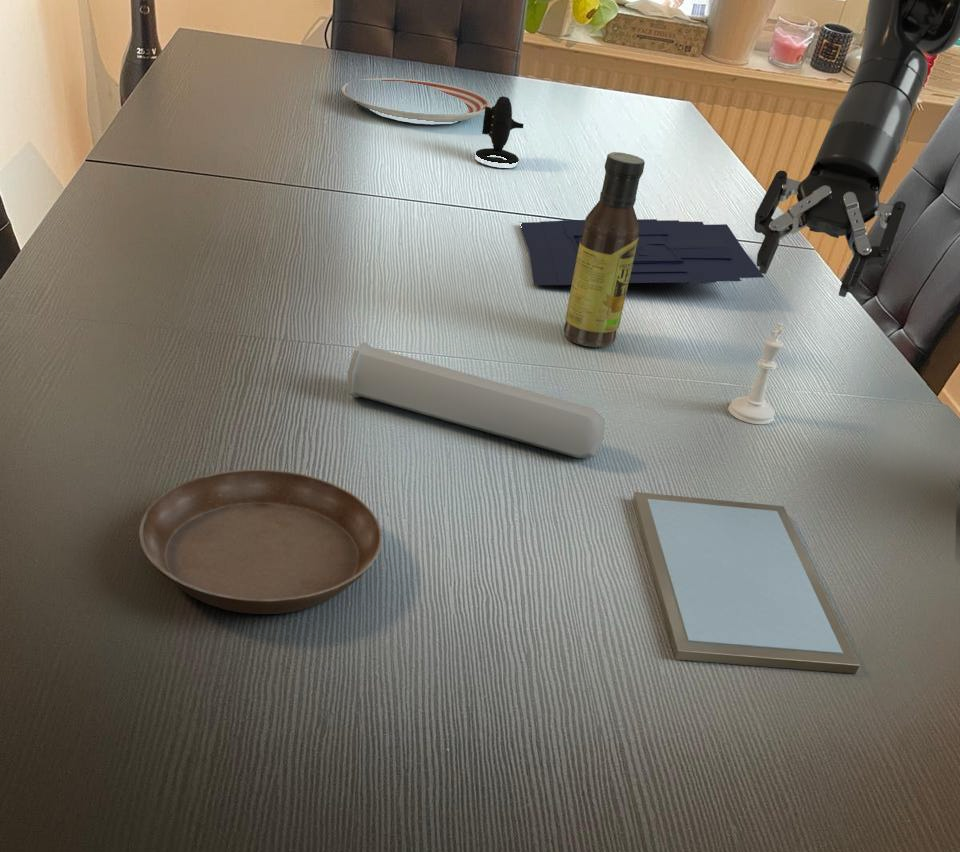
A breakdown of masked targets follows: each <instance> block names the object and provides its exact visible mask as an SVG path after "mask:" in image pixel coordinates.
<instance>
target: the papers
mask: <svg viewBox="0 0 960 852" xmlns="http://www.w3.org/2000/svg"><path fill="white" fill-rule="evenodd" d="M637 221H638V223H639V234H638V235H639V238H638V243H637V248H636V252H635V256H634V261H633V265H632V271H631V275H630V279H629V283H628V284H653V283H654V284H655V283H657V284H658V283H659V284H660V283H661V284H662V283H663V284H664V283H666V284H667V283H685V284H715V283H716V284H717V282H742V280H741V279H754V278H756V279H758V278H759V279H760V278H761V279H762V278H765V276H764V274H763V273H759V269H760V268H759V267H758V266H757V264H755V263H754V260H752V258H751V257H750V255H748V253H747V252H746V250H745V249H744V247H743V246H742V244H741V243H740V241H739V240H738V238H737V237H736V236H735V234H734V233H733V231H732V230H731V228H730V226H729V225H728V224H726V223H725V224H724V223H723V224H722V223H721V224H720V223H719V224H717V223H716V224H705V223H704V222H703V221H680V220H678V219H677V220H675V219H674V220H666V219H665V220H661V219H659V220H658V219H657V218H652V219H651V218H650V219H647V218H645V219H644V218H643V219H642V218H641V219H640V218H639V219H638V218H637ZM521 223H522V224H521V226H522V228H520V227H521V226H520V225H519V228H520V231H521V234H522V236H523V239H524V241H525V245H526V247H527V250H528V252H529V259H530V261H529V262H530V268H531V276H532V282H533V286H572V281H573V275H574V270H575V265H576V260H577V255H578V249H579V244H580V240H581V239H582V234H583V228H584V223H585V219H562V220H547V221H546V220H545V221H542V220H541V221H530V222H529V221H528V222H527V221H526V222H521Z"/></svg>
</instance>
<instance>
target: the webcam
mask: <svg viewBox="0 0 960 852" xmlns="http://www.w3.org/2000/svg"><path fill="white" fill-rule="evenodd" d="M514 129H524V123H521V122H517V121H515V120H514V119H513V107H512V103H511V100H510V98H509V97H508V96H499V97H498V99H496V103H495V104H494V105H493V106H490V107H485V112H484V113H483V123H482V129H481V130H482V131H481V133H482V134H481V135H487V136H489V137H490V140H491V144H492V147H490V148H489V147H488V148H481V149H477V150H476V151H475V152H476V155H477V156H478V157H480V158H481V159H484V160H487V161H491V162H498V163H509V164H512V163H516V162H518V161H519V162H520V160H519V157H518V156H517V155H516V154H515V153H513V152H511V151H508V150H505V149H504V147H505V146H506V144H507V143H508V140H509V137H510V133H511V131H512V130H514ZM490 155H496V156H501V157H504V158H506V159H507V160H503V159H498V158H491V157H487V156H490Z"/></svg>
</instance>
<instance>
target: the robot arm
mask: <svg viewBox="0 0 960 852" xmlns="http://www.w3.org/2000/svg"><path fill="white" fill-rule="evenodd" d="M866 9H867V10H866V16H865V22H864V23H865V24H864V26H865V27H864V35H863V43H862V49H861V54H860V59H859V63H858V66H857V68H856V71H855V73H854V75H853V77H852V80H851V82H850V85H849V86H848V89H847V92H846V94H845V96H844V97H843V100H842V101H841V102H840V104H839V106H838V107H837V109H836V111H835V113H834V116H833V117H832V120H831V123H830V124H829V127H828V129H827V132H826V134H825V136H824V138H823V140H822V143H821V145H820V148H819V150H818V152H817V154H816V157H815V159H814V161H813V164H812V166H811V168H810V171H809V173H808V175H807V176H806V177H805V178H804V179H802V180H801V181H799V180H795V179H792V178H789V177H788V173H787V171H785V170H779V171H777V172H776V173H775V174H774V176H773V179H772V181H771V183H770V185H769V186H768V188H767V190H766V192H765V194H764V196H763V198H762V200H761V202H760V204H759V206H758V208H757V210H756V212H755V214H754V226H753V228H754V231H755V233H758V234H762V235H763V236H764V238H763V240H762V243H761V245H760V246H759V247H760V248H759V249H758V251H757V254H756V267H758V269H759V273H762V274H763V275H767V273H768V272H769V268H770V266H771V264H772V261H773V259H774V257H775V254H776V252H777V249H778V247H779V245H780V241H781V240H783V239H785V238H786V237H787V236H789V235H795V234H796V233H798V232H800V231H801V230H803V229H805V228H806V227H808V228H809V231H810V232H813V233H825V234H826V235H827V236H830V237H832V238H835V239H839V237H843V236H844V237H845V240H846V243H847V245H848V249H849V250H850V251H851V253H852V258H851V261H850V263H849V266H848V268H847V270H846V273H845V275H844V278H843V280H842V282H841V284H840V287H839V291H838V296H839V297H843V298H846V296H847V294H848V293H849V294H853V293H854V292H855V291H856V290H857V287H858V285H859V283H860V280H861V279H862V275H863V273H864V271H865V269H866V268H867V267H869V266H873V265H875V266H877V267H879V268H882V267H885V266H886V265H887V264H888V262H889V258H890V256H891V253H892V251H893V247H894V244H895V241H896V238H897V236H898V233H899V230H900V227H901V225H902V222H903V218H904V215H905V213H906V209H907V204H906V203H905V202H904V201H901V200H899V201H896V202H895V203H893V204H889V203H884V202H880V197H879V196H880V194H881V192H882V189H883V187H884V184H885V182H886V180H887V177H888V175H889V173H890V170H891V168H892V166H893V163H894V161H895V159H896V157H897V155H898V154H899V152H900V150H901V145H902V142H903V140H904V138H905V135H906V132H907V129H908V125H909V121H910V118H911V115H912V113H913V110H914V108H915V106H916V103H917V101H918V98H919V97H920V93H921V91H922V89H923V87H924V84H925V82H926V79H927V77H928V76H927V75H928V71H929V70H928V69H929V68H928V67H929V66H928V65H929V64H928V60H927V58H926V56H935V55H939V54H942V53H944V52H946V51H948V50H949V49H951V48H952V47H954V45H956V43H957V42H958V41H959V40H960V0H868V4H867V8H866ZM925 55H926V56H925ZM793 195H796V199H797V202H796V203H794V204H793V205H791V206H790V207H789V208H787V210H786V211H785V212H784V213H782V214H781V215H779V216H778V217H776V218H775V219H773V216H774V214H775V212H776V210H777V208H778V206H779V204H780V202H782V203H783V202H785V201H786V200H788V199H789V198H790V197H791V196H793ZM875 217H878V218H879V225H880V227H881V228H883V229H884V232H883V235H882V238H881V241H880V244H879V245H876V246H873V245H872V246H871V243H870V240H869V237H868V235H867V227H866V223H868V222H869V221H871V220H872V219H874V218H875Z"/></svg>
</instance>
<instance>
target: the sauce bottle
mask: <svg viewBox="0 0 960 852" xmlns="http://www.w3.org/2000/svg"><path fill="white" fill-rule="evenodd" d="M645 164H646V162H645V160H644V159H643V158H641V157H639V156H637V155H634V154H630V153H626V152H617V151H613V152H610V153H608V154H607V155H606V160H605V163H604V172H605V173H604V178H603V184H602V188H601V191H600V194H599V201H598V202H597V203H596V204H595V205H594V207H592V209H590V212H589V213H588V214H587V215H586V217H585V219H584V220H585V223H584V228H583V234H582V239H581V240H580V244H579V249H578V255H577V260H576V265H575V270H574V275H573V281H572V285H570V286H571V287H570V291H569V297H568V302H567V307H566V312H565V323H564V326H563V334H564V337H565V338H566V339H567V340H569V341H570V342H571V343H574V344H577V345H581V346H585V347H590V348H605V347H607V346H609V345H611V344H612V343H614V342H615V341H616V338H617V331H618V330H619V328H620V325H621V319H622V315H623V311H624V305H625V301H626V296H627V292H628V287H629V284H630V283H629V279H630V275H631V271H632V265H633V261H634V256H635V252H636V248H637V243H638V238H639V235H638V234H639V223H638V221H637V219H638V217H637V214H636V210H635V208H634V206H635V204H636V200H637V193H638V189H639V185H640V180H641V178H642V176H643V174H644V170H645Z"/></svg>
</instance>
